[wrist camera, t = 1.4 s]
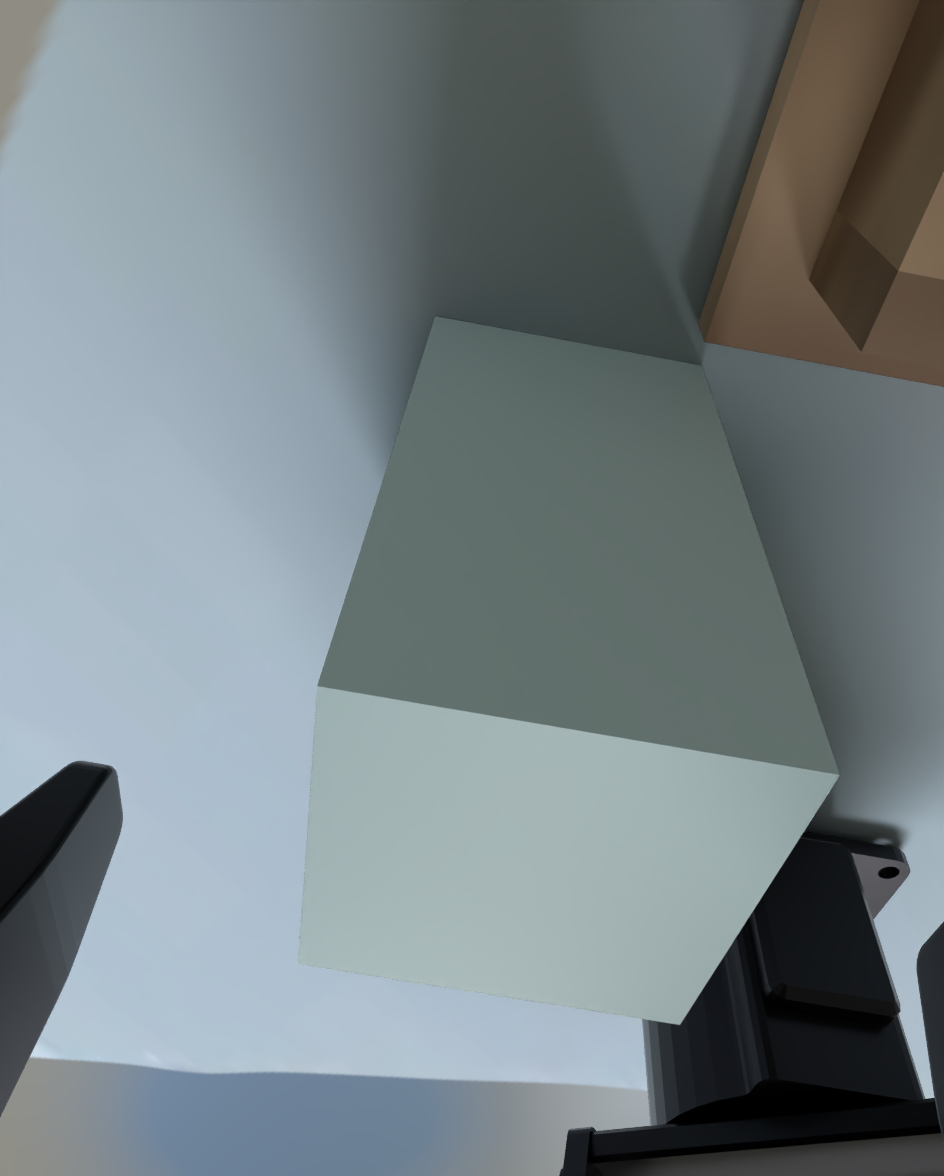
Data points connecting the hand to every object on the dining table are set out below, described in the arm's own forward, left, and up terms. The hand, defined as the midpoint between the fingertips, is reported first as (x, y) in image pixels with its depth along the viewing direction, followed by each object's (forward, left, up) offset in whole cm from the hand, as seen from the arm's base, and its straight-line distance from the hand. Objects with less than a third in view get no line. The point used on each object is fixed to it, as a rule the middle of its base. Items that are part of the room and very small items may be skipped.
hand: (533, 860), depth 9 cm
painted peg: (0, 0, -9) cm, 9 cm away
